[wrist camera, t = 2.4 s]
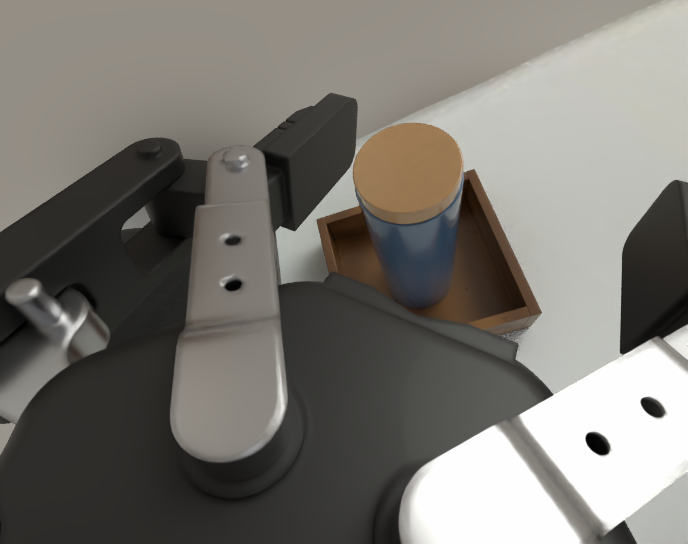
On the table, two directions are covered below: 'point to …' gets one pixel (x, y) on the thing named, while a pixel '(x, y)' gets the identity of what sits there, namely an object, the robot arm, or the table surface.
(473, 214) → the wooden box
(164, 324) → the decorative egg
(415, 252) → the canister
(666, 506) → the table surface
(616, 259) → the table surface
